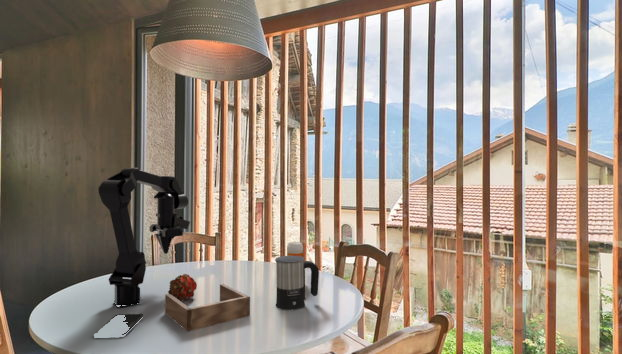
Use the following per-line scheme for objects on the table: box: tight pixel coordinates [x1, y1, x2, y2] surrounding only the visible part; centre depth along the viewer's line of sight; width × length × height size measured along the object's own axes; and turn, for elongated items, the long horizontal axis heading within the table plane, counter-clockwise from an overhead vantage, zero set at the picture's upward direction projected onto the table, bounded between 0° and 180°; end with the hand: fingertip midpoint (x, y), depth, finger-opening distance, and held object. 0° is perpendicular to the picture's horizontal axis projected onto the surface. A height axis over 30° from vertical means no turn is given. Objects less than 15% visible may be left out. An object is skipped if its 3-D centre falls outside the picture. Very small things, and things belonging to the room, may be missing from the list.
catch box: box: [164, 283, 251, 332], centre depth 113 cm, size 18×17×6 cm
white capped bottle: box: [286, 241, 304, 257], centre depth 147 cm, size 6×6×15 cm
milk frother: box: [274, 255, 320, 311], centre depth 125 cm, size 14×16×15 cm
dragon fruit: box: [167, 273, 198, 301], centre depth 128 cm, size 8×8×12 cm
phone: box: [112, 313, 144, 335], centre depth 103 cm, size 8×1×15 cm
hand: (165, 253), depth 141 cm, fingers closed
